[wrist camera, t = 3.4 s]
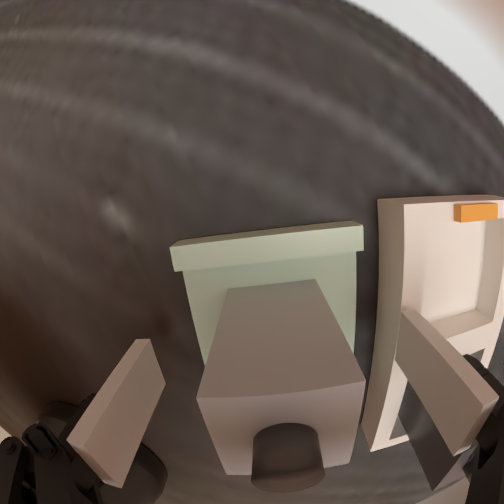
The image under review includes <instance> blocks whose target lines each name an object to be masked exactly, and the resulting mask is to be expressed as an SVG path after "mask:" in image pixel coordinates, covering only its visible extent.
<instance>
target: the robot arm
mask: <svg viewBox="0 0 504 504" xmlns="http://www.w3.org/2000/svg"><path fill="white" fill-rule="evenodd" d="M395 361H396V363H397V364H398V366H399V367H400V369H401V370H402V372H403V373H404V375H405V376H406V378H407V380H408V381H409V383H410V384H411V386H412V387H413V389H414V391H415V392H416V394H417V395H418V397H419V399H420V400H421V402H422V404H423V405H424V407H425V408H426V410H427V412H428V413H429V415H430V417H431V418H432V420H433V422H434V424H435V425H436V427H437V429H438V430H439V432H440V434H441V436H442V437H443V439H444V441H445V443H446V445H447V446H448V448H449V450H450V452H451V454H452V455H453V456H455V455H457V454H459V453H461V452H463V451H465V450H467V449H469V447H470V446H471V445H472V443H473V442H474V440H475V439H476V440H477V442H478V443H479V444H478V445H477V447H476V448H475V450H474V451H473V453H472V454H471V455H470V457H469V459H468V461H467V462H470V461H471V460H472V458H473V457H474V456H475V457H474V461H473V462H474V464H473V470H472V476H471V481H470V486H469V490H468V495H467V499H466V503H465V504H504V387H503V386H502V384H501V383H500V382H499V381H498V380H497V379H496V378H495V377H494V376H493V375H492V374H491V373H489V371H488V370H487V369H486V367H485V368H484V365H483V364H482V363H481V362H480V361H479V360H478V359H477V358H475V357H473V356H471V355H469V354H465V355H463V356H462V355H461V354H460V353H459V352H458V351H457V350H456V349H455V348H454V347H453V346H452V345H451V344H450V343H449V342H448V341H447V340H446V339H445V338H444V337H443V336H442V335H441V334H440V333H439V332H438V331H437V330H436V329H435V328H434V327H433V326H432V325H431V324H430V323H429V322H428V321H427V320H426V319H425V318H424V317H423V316H422V315H421V314H420V313H419V312H418V311H416V310H415V309H413V310H409V311H404V312H401V320H400V328H399V336H398V342H397V349H396V355H395ZM165 384H166V383H165V380H164V378H163V375H162V372H161V370H160V367H159V364H158V361H157V358H156V356H155V353H154V350H153V347H152V344H151V341H150V339H136V340H135V341H134V342H133V344H132V345H131V347H130V348H129V349H128V351H127V352H126V353H125V355H124V356H123V358H122V359H121V360H120V362H119V363H118V365H117V366H116V367H115V369H114V370H113V372H112V373H111V374H110V376H109V377H108V379H107V380H106V382H105V383H104V384H103V386H102V387H101V389H100V390H99V392H98V393H97V394H94V393H92V394H91V395H90V396H88V397H87V398H86V399H84V400H83V402H82V403H81V404H80V406H79V407H76V406H73V405H69V404H65V403H58V402H55V403H50V404H48V405H47V406H46V407H45V409H44V410H43V411H42V412H41V414H40V415H39V416H38V418H37V420H36V424H34V425H31V426H30V427H28V428H27V429H26V430H25V431H24V433H23V435H22V440H23V441H24V442H25V443H26V444H27V446H25V445H24V444H23V443H22V442H21V441H20V440H19V439H18V438H17V437H14V436H12V437H8V438H5V439H4V440H3V441H2V442H1V444H0V504H154V503H155V501H156V500H157V499H158V498H159V497H160V495H161V494H162V492H163V490H164V486H165V483H166V479H167V472H166V469H165V467H164V466H163V464H162V463H161V462H160V460H159V459H158V458H157V457H156V456H155V455H154V454H153V453H152V452H151V451H150V450H148V449H147V448H146V447H145V446H144V445H142V444H141V443H140V442H141V440H142V438H143V435H144V433H145V431H146V428H147V426H148V423H149V421H150V419H151V416H152V414H153V412H154V409H155V407H156V405H157V403H158V400H159V398H160V396H161V393H162V391H163V389H164V387H165Z"/></svg>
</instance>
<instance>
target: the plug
mask: <svg viewBox="0 0 504 504" xmlns="http://www.w3.org/2000/svg"><path fill="white" fill-rule="evenodd" d="M365 384H366V379H365V377H364V375H363V373H362V371H361V369H360V367H359V365H358V362H357V360H356V358H355V356H354V354H353V352H352V350H351V348H350V346H349V344H348V342H347V340H346V338H345V336H344V334H343V332H342V330H341V328H340V326H339V324H338V322H337V320H336V318H335V316H334V314H333V312H332V310H331V308H330V306H329V304H328V302H327V300H326V298H325V296H324V294H323V293H322V291H321V289H320V287H319V285H318V283H317V281H316V279H310V280H302V281H293V282H285V283H276V284H267V285H257V286H248V287H238V288H228V291H227V294H226V298H225V301H224V304H223V308H222V311H221V314H220V318H219V321H218V324H217V328H216V331H215V334H214V338H213V341H212V345H211V348H210V351H209V355H208V358H207V362H206V365H205V369H204V372H203V375H202V379H201V382H200V386H199V389H198V393H197V396H196V399H197V402H198V404H199V407H200V410H201V413H202V416H203V418H204V421H205V424H206V426H207V429H208V431H209V434H210V436H211V439H212V441H213V444H214V446H215V449H216V451H217V454H218V456H219V458H220V461H221V463H222V465H223V467H224V470H225V472H226V474H227V475H251V481H252V484H253V485H254V486H256V487H257V488H259V489H261V490H265V491H269V492H278V493H285V492H295V491H300V490H304V489H307V488H310V487H312V486H314V485H316V484H318V483H319V482H320V481H321V480H322V479H323V478H324V476H325V471H324V468H326V467H332V466H337V465H342V464H347V463H349V461H350V458H351V454H352V450H353V446H354V441H355V437H356V433H357V428H358V423H359V418H360V413H361V408H362V402H363V396H364V390H365Z"/></svg>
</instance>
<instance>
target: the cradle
mask: <svg viewBox="0 0 504 504" xmlns="http://www.w3.org/2000/svg"><path fill="white" fill-rule="evenodd" d="M356 251H364V240H363V225H361V224H359V223H357V222H355V221H353V220H351V221H341V222H331V223H321V224H311V225H302V226H292V227H283V228H274V229H265V230H257V231H248V232H240V233H231V234H223V235H215V236H207V237H199V238H191V239H184V240H179V241H177V242H176V243H175V244H173V245H172V246H171V247H170V252H171V257H172V262H173V267H174V272H176V271H183V276H184V281H185V286H186V291H187V295H188V300H189V304H190V309H191V313H192V317H193V322H194V326H195V330H196V334H197V338H198V342H199V346H200V350H201V354H202V357H203V361H204V365H206V362H207V358H208V355H209V351H210V348H211V345H212V341H213V338H214V334H215V331H216V328H217V324H218V321H219V318H220V314H221V311H222V308H223V304H224V301H225V298H226V294H227V291H228V288H238V287H248V286H257V285H267V284H276V283H285V282H293V281H302V280H310V279H316V281H317V283H318V285H319V287H320V289H321V291H322V293H323V294H324V296H325V298H326V300H327V302H328V304H329V306H330V308H331V310H332V312H333V314H334V316H335V318H336V320H337V322H338V324H339V326H340V328H341V330H342V332H343V334H344V336H345V338H346V340H347V342H348V344H349V346H350V348H351V350H352V352H353V354H354V339H355V320H356Z"/></svg>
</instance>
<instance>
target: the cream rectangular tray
mask: <svg viewBox="0 0 504 504" xmlns="http://www.w3.org/2000/svg"><path fill="white" fill-rule="evenodd" d="M377 207H378V230H379V279H378V303H377V318H376V330H375V340H374V349H373V358H372V365H371V373H370V379H369V386H368V392H367V397H366V403H365V408H364V413H363V418H362V423H361V426H362V429H363V431H364V434H365V437H366V440H367V443H368V446H369V449H370V452H371V451H375V450H379V449H382V448H386V447H389V446H392V445H395V444H398V443H402V442H404V441H407V440H410V442H411V444H412V446H413V448H414V450H415V453H416V455H417V457H418V459H419V461H420V464H421V466H422V468H423V470H424V473H425V475H426V477H427V480H428V482H429V484H430V487H431V489H432V491H434V490H437V489H439V488H441V487H443V486H445V485H447V484H449V483H451V482H453V481H455V480H457V479H459V478H460V477H462V476H464V475H466V477H467V479H468V481H469V483H470V481H471V476H472V470H473V464H474V462H473V461H474V457H475V456H474V457H473V458H472V460H471V461H470V462H467V461H468V459H469V457H470V455H471V454H472V453H473V451H474V450H475V448H476V447H477V445H478V444H479V443H478V442H477V440H476V439H475V440H474V442H473V443H472V445H471V446H470V447H469V449H467V450H465V451H463V452H461V453H459V454H457V455H455V456H453V455H452V454H451V452H450V450H449V448H448V446H447V445H446V443H445V441H444V439H443V437H442V436H441V434H440V432H439V430H438V429H437V427H436V425H435V424H434V422H433V420H432V418H431V417H430V415H429V413H428V412H427V410H426V408H425V407H424V405H423V404H422V402H421V400H420V399H419V397H418V395H417V394H416V392H415V391H414V389H413V387H412V386H411V384H410V383H409V381H408V380H407V378H406V376H405V375H404V373H403V372H402V370H401V369H400V367H399V366H398V364H397V363H396V361H395V355H396V349H397V342H398V336H399V328H400V320H401V312H404V311H409V310H413V309H415V310H416V311H418V312H419V313H420V314H421V315H422V316H423V317H424V318H425V319H426V320H427V321H428V322H429V323H430V324H431V325H432V326H433V327H434V328H435V329H436V330H437V331H438V332H439V333H440V334H441V335H442V336H443V337H444V338H445V339H446V340H447V341H448V342H449V343H450V344H451V345H452V346H453V347H454V348H455V349H456V350H457V351H458V352H459V353H460V354H461V355H462V356H463V355H465V354H469V355H471V356H473V357H475V358H477V359H478V360H479V361H480V362H481V363H482V364H483V365H484V368H485V367H486V369H487V368H488V365H489V362H490V359H491V357H492V354H493V351H494V348H495V345H496V342H497V338H498V335H499V332H500V328H501V324H502V321H503V317H504V197H499V196H493V195H449V196H424V197H404V198H387V199H377Z"/></svg>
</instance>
